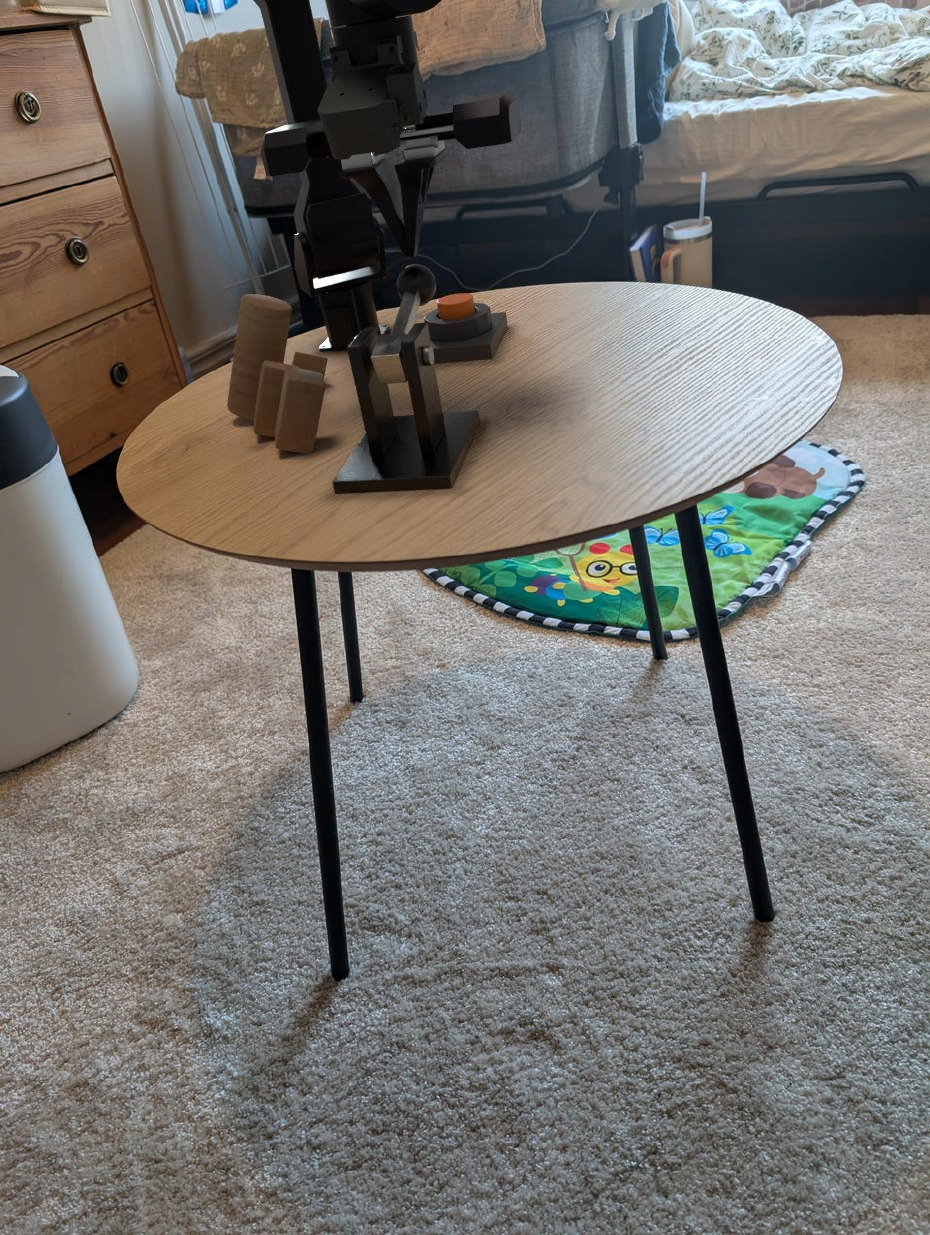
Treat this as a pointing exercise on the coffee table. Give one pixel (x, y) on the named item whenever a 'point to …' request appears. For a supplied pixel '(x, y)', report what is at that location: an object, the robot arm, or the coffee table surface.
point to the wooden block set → (275, 377)
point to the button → (455, 306)
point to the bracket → (404, 425)
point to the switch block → (466, 335)
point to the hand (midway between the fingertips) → (411, 256)
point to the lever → (402, 323)
